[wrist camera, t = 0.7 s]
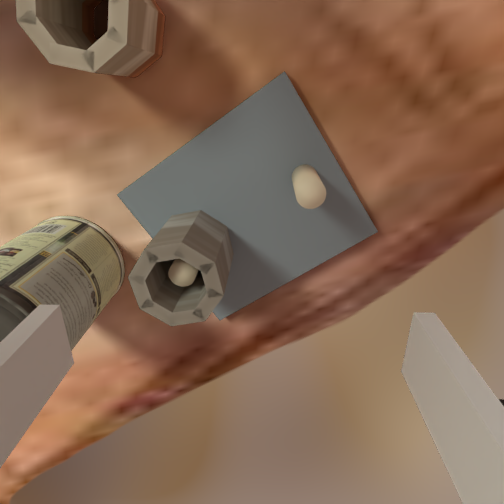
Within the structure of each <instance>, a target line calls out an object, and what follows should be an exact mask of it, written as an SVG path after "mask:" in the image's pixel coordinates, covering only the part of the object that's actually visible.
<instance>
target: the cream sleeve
mask: <svg viewBox="0 0 504 504" xmlns="http://www.w3.org/2000/svg"><path fill="white" fill-rule="evenodd" d="M102 1H103V0H16V18H17V22H18V23H19V25H20V26H21V27H22V29H23V30H24V31H25V32H26V34H27V35H28V36H29V37H30V39H31V40H32V41H33V43H34V44H35V45H36V46H37V48H38V49H39V50H40V52H41V53H42V54H43V55H44V57H45V58H46V59H47V60H48V62H49V63H50V64H54V65H59V66H64V67H69V68H74V69H78V70H83V71H88V72H93V73H101V74H110V75H119V76H128V77H137V76H138V75H140V74H141V73H142V72H143V71H144V70H146V69H147V68H148V67H149V66H150V65H152V64H153V63H154V62H155V61H156V60H158V59H159V58H160V57H161V56H162V48H163V36H164V24H165V15H164V14H163V12H162V11H161V9H160V8H159V6H158V5H157V3H156V2H155V0H109V5H108V31H107V32H106V33H105V34H104V35H103V36H102V37H101V38H99V39H98V40H97V39H96V37H95V36H94V8H95V7H96V6H97V5H99V4H100V3H101V2H102Z"/></svg>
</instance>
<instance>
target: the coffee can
mask: <svg viewBox="0 0 504 504" xmlns="http://www.w3.org/2000/svg"><path fill="white" fill-rule="evenodd" d="M124 274H125V268H124V261H123V257H122V254H121V252H120V250H119V248H118V246H117V245H116V243H115V242H114V240H113V239H112V238H111V236H109V235H108V234H107V233H106V232H105V231H104V230H103V229H101V228H100V227H99V226H97V225H96V224H94V223H92V222H90V221H88V220H85V219H82V218H79V217H74V216H57V217H52V218H49V219H46V220H44V221H42V222H41V223H39V224H38V225H37V226H35V227H34V228H32V229H30V230H28V231H27V232H25V233H23V234H22V235H20V236H18V237H16V238H15V239H13V240H11V241H9V242H8V243H6V244H4V245H3V246H1V247H0V342H1V341H2V340H3V339H4V338H5V337H6V336H7V335H8V334H10V333H11V332H12V331H13V330H14V329H15V328H16V327H17V326H18V325H19V324H20V323H21V322H22V321H23V320H24V319H25V318H26V317H27V316H28V315H29V314H30V313H31V312H32V311H34V310H35V309H36V308H37V307H38V306H39V305H40V304H42V305H60V308H61V312H62V316H63V320H64V324H65V328H66V332H67V336H68V340H69V344H70V348H71V351H72V349H73V348H74V347H75V345H76V344H77V343H78V342H79V340H80V339H81V338H82V336H83V335H84V334H85V332H86V331H87V330H88V328H89V327H90V326H91V325H92V323H93V322H94V320H95V319H96V318H97V316H98V315H99V314H100V313H101V311H102V310H103V309H104V307H105V306H106V305H107V303H108V302H109V301H110V299H111V298H112V297H113V296H114V295H115V294H116V293H117V292H118V290H119V289H120V287H121V285H122V282H123V279H124Z"/></svg>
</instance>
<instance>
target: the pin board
mask: <svg viewBox="0 0 504 504" xmlns="http://www.w3.org/2000/svg"><path fill="white" fill-rule="evenodd" d="M117 196H118V197H119V198H120V199H121V201H122V202H123V203H124V204H125V205H126V207H127V208H128V209H129V210H130V212H131V213H132V214H133V215H134V216H135V218H136V219H137V220H138V221H139V223H140V224H141V225H142V226H143V227H144V229H145V230H146V231H147V232H148V234H149V235H150V236H151V237H152V238H154V237H155V236H156V234H157V233H158V232H159V231H160V229H161V228H162V227H163V226H164V224H165V223H166V222H167V221H168V220H169V218H170V217H171V216H172V215H177V214H183V213H188V212H193V211H199V210H202V211H203V212H205V213H207V214H208V215H210V216H211V217H213V218H215V219H216V220H218V221H219V222H221V223H222V224H224V225H226V226H227V228H228V232H229V236H230V240H231V245H232V249H233V253H234V255H233V259H232V263H231V267H230V272H229V276H228V280H227V284H226V288H225V293H224V296H223V297H222V299H221V300H220V302H219V303H218V304H217V306H216V307H215V308H214V310H213V311H212V312H213V313H214V314H215V315H216V317H217V318H218V319H219V320H222V319H224V318H225V317H227V316H229V315H231V314H232V313H234V312H236V311H238V310H240V309H241V308H243V307H245V306H247V305H248V304H250V303H252V302H254V301H256V300H257V299H259V298H261V297H263V296H264V295H266V294H268V293H270V292H272V291H273V290H275V289H277V288H279V287H281V286H282V285H284V284H286V283H288V282H289V281H291V280H293V279H295V278H297V277H298V276H300V275H302V274H304V273H305V272H307V271H309V270H311V269H313V268H314V267H316V266H318V265H320V264H321V263H323V262H325V261H327V260H329V259H330V258H332V257H334V256H336V255H337V254H339V253H341V252H343V251H345V250H346V249H348V248H350V247H352V246H353V245H355V244H357V243H359V242H361V241H362V240H364V239H366V238H368V237H369V236H371V235H373V234H375V233H377V232H378V231H377V229H376V228H375V226H374V224H373V222H372V221H371V219H370V217H369V216H368V214H367V212H366V210H365V209H364V207H363V205H362V203H361V202H360V200H359V198H358V197H357V195H356V193H355V191H354V190H353V188H352V186H351V185H350V183H349V181H348V179H347V178H346V176H345V174H344V173H343V171H342V169H341V167H340V166H339V164H338V162H337V161H336V159H335V157H334V155H333V154H332V152H331V150H330V148H329V147H328V145H327V143H326V142H325V140H324V138H323V136H322V135H321V133H320V131H319V130H318V128H317V126H316V124H315V123H314V121H313V119H312V118H311V116H310V114H309V112H308V111H307V109H306V107H305V106H304V104H303V102H302V100H301V99H300V97H299V95H298V94H297V92H296V90H295V88H294V87H293V85H292V83H291V81H290V80H289V78H288V76H287V75H286V73H285V71H284V72H283V73H282V74H280V75H279V76H278V77H276V78H275V79H273V80H272V81H271V82H269V83H268V84H267V85H265V86H264V87H263V88H261V89H260V90H259V91H257V92H256V93H254V94H253V95H252V96H250V97H249V98H248V99H246V100H245V101H244V102H242V103H241V104H240V105H238V106H237V107H235V108H234V109H233V110H231V111H230V112H229V113H227V114H226V115H225V116H223V117H222V118H220V119H219V120H218V121H216V122H215V123H214V124H212V125H211V126H210V127H208V128H207V129H206V130H204V131H203V132H201V133H200V134H199V135H197V136H196V137H195V138H193V139H192V140H191V141H189V142H188V143H187V144H185V145H184V146H182V147H181V148H180V149H178V150H177V151H176V152H174V153H173V154H172V155H170V156H169V157H167V158H166V159H165V160H163V161H162V162H161V163H159V164H158V165H157V166H155V167H154V168H153V169H151V170H150V171H148V172H147V173H146V174H144V175H143V176H142V177H140V178H139V179H138V180H136V181H135V182H134V183H132V184H131V185H129V186H128V187H127V188H125V189H124V190H123V191H121V192H120V193H119V194H117ZM197 273H198V269H197V268H195V267H193V266H192V265H190V264H188V263H186V262H185V261H183V260H181V259H180V258H179V259H175V260H174V262H173V263H172V265H171V267H170V269H169V272H168V274H169V278H170V280H171V281H172V282H173V283H174V284H175V285H178V286H182V287H185V286H189V285H191V284H192V283H193V282H194V280H195V278H196V275H197Z"/></svg>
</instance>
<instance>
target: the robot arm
mask: <svg viewBox="0 0 504 504" xmlns="http://www.w3.org/2000/svg"><path fill="white" fill-rule="evenodd" d="M73 364H74V361H73V357H72V352H71V348H70V344H69V340H68V336H67V332H66V328H65V324H64V320H63V316H62V312H61V308H60V305H42V304H40V305H39V306H38V307H37V308H36V309H35V310H34V311H32V312H31V313H30V314H29V315H28V316H27V317H26V318H25V319H24V320H23V321H22V322H21V323H20V324H19V325H18V326H17V327H16V328H15V329H14V330H13V331H12V332H11V333H10V334H8V335H7V336H6V337H5V338H4V339H3V340H2V341H1V342H0V468H1V466H2V465H3V464H4V462H5V461H6V459H7V458H8V456H9V455H10V454H11V452H12V451H13V449H14V448H15V446H16V445H17V444H18V442H19V441H20V439H21V438H22V436H23V435H24V434H25V432H26V431H27V429H28V428H29V426H30V425H31V424H32V422H33V421H34V419H35V418H36V416H37V415H38V414H39V412H40V411H41V409H42V408H43V406H44V405H45V404H46V402H47V401H48V399H49V398H50V396H51V395H52V394H53V392H54V391H55V389H56V388H57V386H58V385H59V384H60V382H61V381H62V379H63V378H64V376H65V375H66V374H67V372H68V371H69V369H70V368H71V366H72V365H73ZM401 372H402V374H403V376H404V379H405V381H406V383H407V385H408V387H409V390H410V392H411V394H412V396H413V398H414V400H415V402H416V405H417V407H418V409H419V411H420V413H421V415H422V417H423V420H424V422H425V424H426V426H427V428H428V430H429V433H430V435H431V437H432V439H433V441H434V443H435V445H436V448H437V450H438V452H439V454H440V456H441V458H442V460H443V462H444V465H445V467H446V469H447V471H448V473H449V475H450V478H451V480H452V482H453V484H454V486H455V488H456V490H457V493H458V495H459V497H460V499H461V501H462V503H463V504H504V400H502V399H498V398H497V397H496V395H495V394H494V393H493V391H492V390H491V389H490V387H489V386H488V384H487V383H486V382H485V380H484V379H483V378H482V376H481V375H480V374H479V372H478V371H477V369H476V368H475V367H474V365H473V364H472V363H471V361H470V360H469V359H468V357H467V356H466V354H465V353H464V352H463V350H462V349H461V348H460V346H459V345H458V344H457V342H456V341H455V340H454V338H453V337H452V336H451V334H450V333H449V331H448V330H447V329H446V327H445V326H444V325H443V323H442V322H441V321H440V319H439V318H438V316H437V315H436V314H435V313H422V312H414V313H413V317H412V322H411V326H410V331H409V336H408V341H407V346H406V351H405V355H404V360H403V365H402V370H401Z"/></svg>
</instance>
